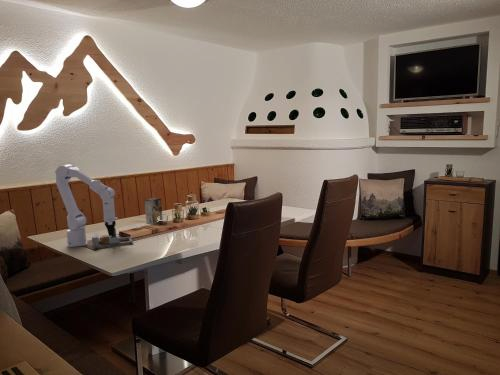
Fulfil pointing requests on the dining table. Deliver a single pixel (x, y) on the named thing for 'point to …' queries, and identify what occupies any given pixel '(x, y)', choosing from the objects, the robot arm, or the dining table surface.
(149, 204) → the coffee box
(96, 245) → the press frame
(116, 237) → the ram
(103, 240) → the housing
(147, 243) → the dining table surface
